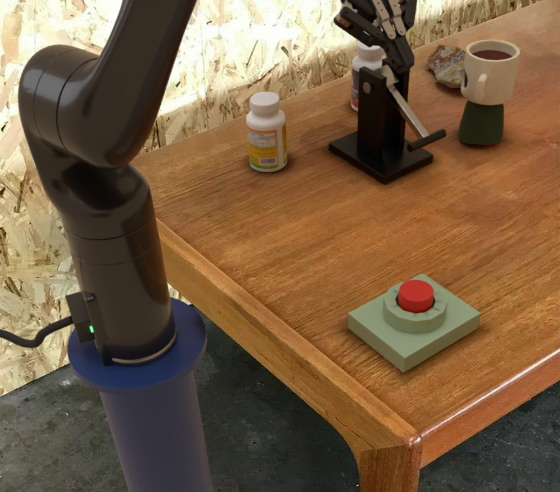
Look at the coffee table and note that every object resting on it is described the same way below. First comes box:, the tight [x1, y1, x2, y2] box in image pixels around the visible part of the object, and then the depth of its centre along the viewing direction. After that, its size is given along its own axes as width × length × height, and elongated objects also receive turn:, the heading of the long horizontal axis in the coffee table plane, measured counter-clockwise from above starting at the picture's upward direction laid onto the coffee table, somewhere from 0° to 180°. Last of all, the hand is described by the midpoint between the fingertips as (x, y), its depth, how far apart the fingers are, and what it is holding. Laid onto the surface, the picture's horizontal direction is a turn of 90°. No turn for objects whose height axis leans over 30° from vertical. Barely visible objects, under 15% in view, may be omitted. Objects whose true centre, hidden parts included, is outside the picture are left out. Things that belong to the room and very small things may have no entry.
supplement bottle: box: [245, 91, 288, 173], centre depth 109 cm, size 5×5×10 cm
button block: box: [347, 272, 482, 373], centre depth 85 cm, size 11×9×4 cm
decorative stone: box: [425, 43, 466, 89], centre depth 127 cm, size 10×4×15 cm
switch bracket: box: [328, 57, 434, 185], centre depth 108 cm, size 12×9×13 cm
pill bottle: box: [350, 41, 387, 113], centre depth 119 cm, size 5×5×10 cm
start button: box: [398, 279, 434, 313], centre depth 84 cm, size 4×4×2 cm
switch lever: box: [375, 65, 447, 153], centre depth 104 cm, size 12×6×2 cm, turn 36°
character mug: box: [457, 39, 521, 146], centre depth 110 cm, size 11×7×13 cm, turn 156°
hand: (406, 69), depth 100 cm, fingers closed
